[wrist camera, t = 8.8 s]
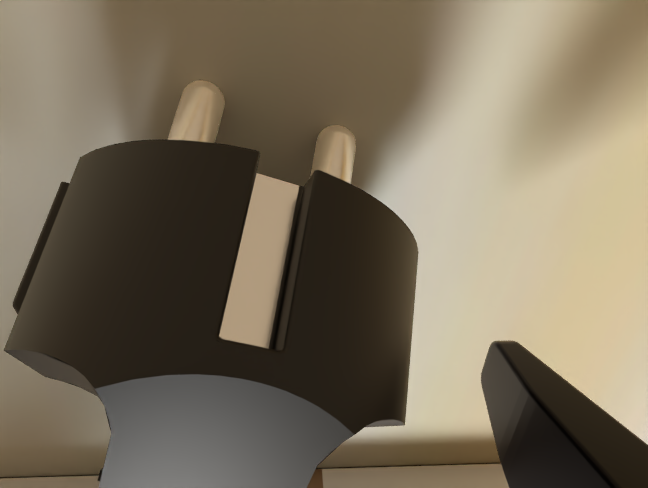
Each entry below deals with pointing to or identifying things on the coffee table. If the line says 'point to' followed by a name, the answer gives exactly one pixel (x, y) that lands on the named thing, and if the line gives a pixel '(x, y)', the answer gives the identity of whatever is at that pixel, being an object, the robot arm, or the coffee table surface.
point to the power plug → (220, 306)
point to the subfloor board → (337, 478)
